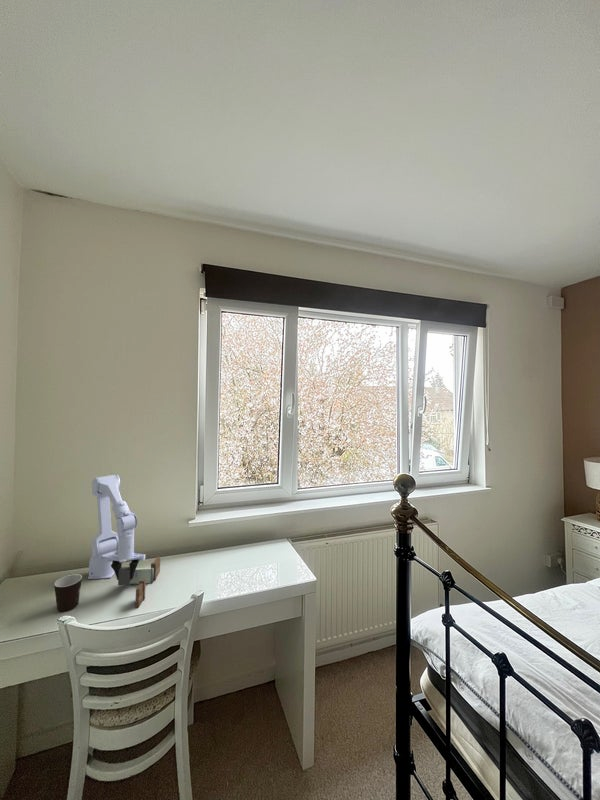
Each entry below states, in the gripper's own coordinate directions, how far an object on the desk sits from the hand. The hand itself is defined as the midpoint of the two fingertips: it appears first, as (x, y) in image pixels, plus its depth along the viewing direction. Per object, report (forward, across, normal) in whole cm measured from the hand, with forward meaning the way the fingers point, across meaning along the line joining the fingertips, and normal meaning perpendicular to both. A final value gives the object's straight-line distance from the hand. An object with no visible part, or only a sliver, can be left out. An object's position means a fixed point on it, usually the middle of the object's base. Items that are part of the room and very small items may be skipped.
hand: (125, 578), depth 130 cm
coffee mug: (+6, -18, -6) cm, 19 cm away
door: (+5, +3, +6) cm, 9 cm away
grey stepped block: (+2, 0, +2) cm, 3 cm away
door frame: (+6, +8, +2) cm, 10 cm away
